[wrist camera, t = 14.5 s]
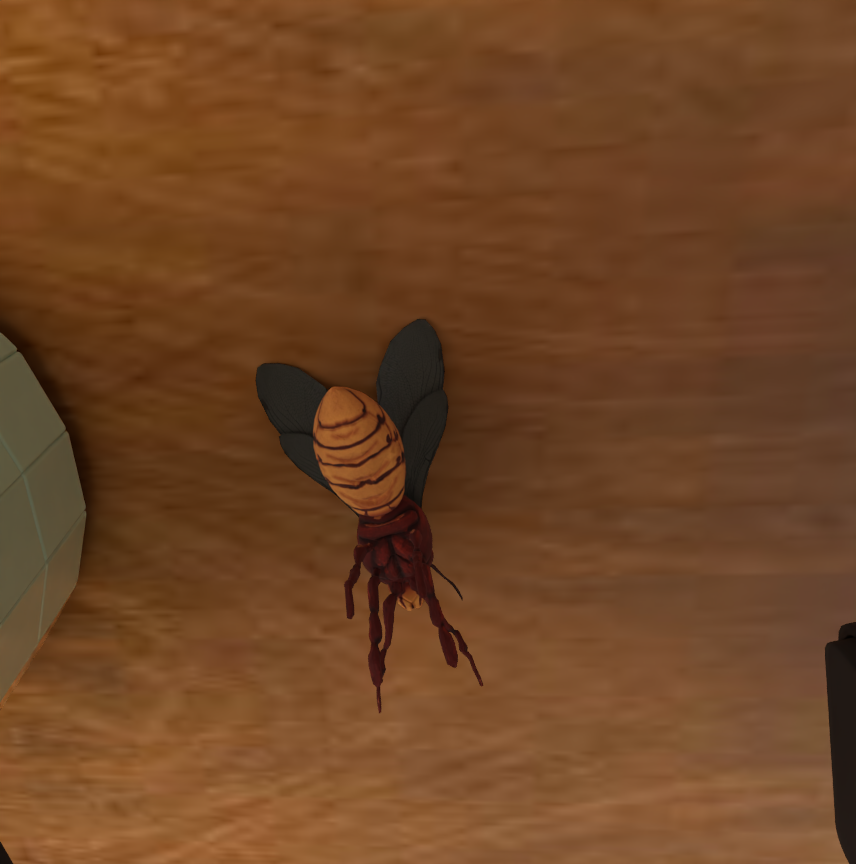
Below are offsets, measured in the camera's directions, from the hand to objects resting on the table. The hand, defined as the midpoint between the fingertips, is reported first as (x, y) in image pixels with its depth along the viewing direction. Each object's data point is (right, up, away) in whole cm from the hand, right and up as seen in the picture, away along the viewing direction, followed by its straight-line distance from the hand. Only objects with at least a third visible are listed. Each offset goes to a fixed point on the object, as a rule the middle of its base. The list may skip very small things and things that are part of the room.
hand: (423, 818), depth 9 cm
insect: (-1, +1, +4) cm, 4 cm away
